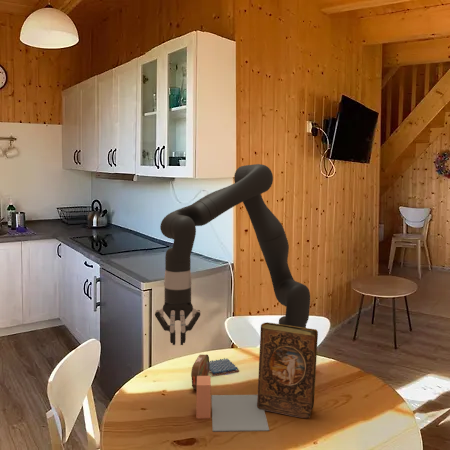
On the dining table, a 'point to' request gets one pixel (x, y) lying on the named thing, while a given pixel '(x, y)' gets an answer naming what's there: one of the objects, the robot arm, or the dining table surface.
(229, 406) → the slate pad
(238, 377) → the dining table surface
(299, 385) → the book
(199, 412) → the terracotta block
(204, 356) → the tin
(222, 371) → the woven mat
